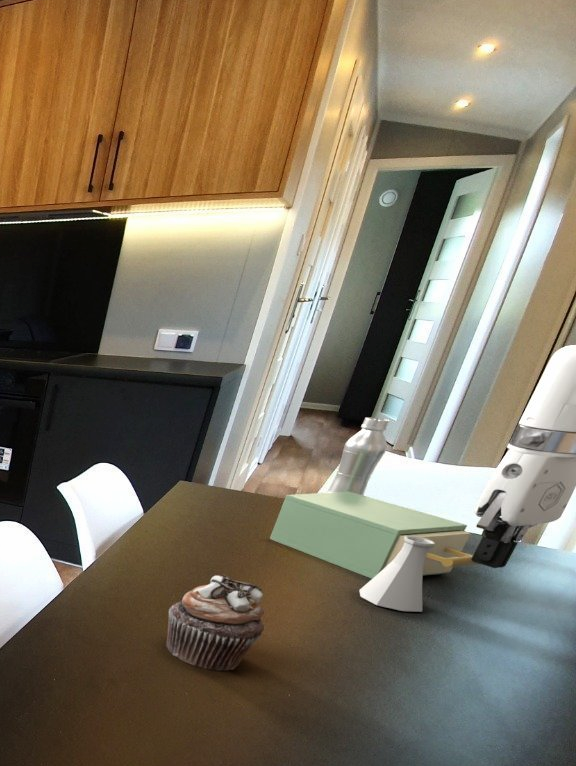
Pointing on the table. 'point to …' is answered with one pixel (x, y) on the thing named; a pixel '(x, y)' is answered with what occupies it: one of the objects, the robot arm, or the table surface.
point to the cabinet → (351, 528)
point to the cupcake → (216, 623)
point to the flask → (400, 578)
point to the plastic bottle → (361, 457)
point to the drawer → (440, 551)
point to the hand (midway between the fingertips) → (487, 563)
